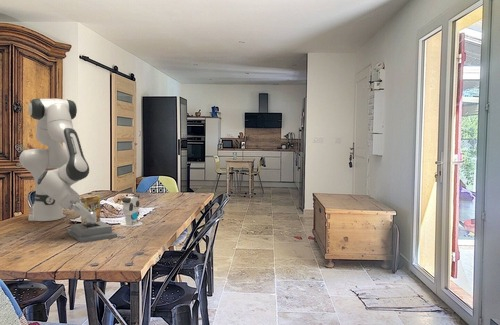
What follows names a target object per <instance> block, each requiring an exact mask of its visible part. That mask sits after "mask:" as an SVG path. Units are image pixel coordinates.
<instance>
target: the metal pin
mask: <svg viewBox="0 0 500 325" xmlns="http://www.w3.org/2000/svg"><path fill="white" fill-rule="evenodd" d="M89 212H90V215H91V216H92V217H93V218H94V219H95V220H94V221H93V222H92V221H90V220H89V219H87V218H86V228H88V227H96V226H97V224H96V211H89Z"/></svg>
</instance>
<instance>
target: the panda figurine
mask: <svg viewBox="0 0 500 325" xmlns="http://www.w3.org/2000/svg"><path fill="white" fill-rule="evenodd" d="M122 202H123V203H122V211H123V214H124V219H125V221H124V222H122V223H120V226H121V227H127V228H128V227H129V228H130V227H133V228H134V227H139V226H142V225H143V222H141V221H139V216H140V211H139V209H140V194H139V195H137V194H132V195H131V196H127V197H122Z"/></svg>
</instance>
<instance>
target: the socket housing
mask: <svg viewBox="0 0 500 325" xmlns="http://www.w3.org/2000/svg"><path fill="white" fill-rule="evenodd" d="M96 224H97V226H96V227H88V228H86V223H82V224H81V223H75V224H71V228H69V229H66V233H67V235H69V236H71V237H72V238H74V239H75V240H77V241H78V242H79V243H81V244H82V243H87V242H94V241H102V240H108V239H115V238H118V233H116V232H114V231H113V229H112V228H113V226H112V225H110V224H108V223H106V222H104V221H101V220H100V221H98V222H96Z"/></svg>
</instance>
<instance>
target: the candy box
mask: <svg viewBox="0 0 500 325" xmlns="http://www.w3.org/2000/svg"><path fill="white" fill-rule="evenodd" d="M80 200H81V202H82V203H83V205H84V206H85V207H86V208H87V210H88V211H96V222H98V221H101V196H100V195H89V196H83V197H82V196H80ZM80 217H81V216H80ZM80 220H81V223H80V224H82V223H86V219H83V218H82V217H81V218H80Z"/></svg>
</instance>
